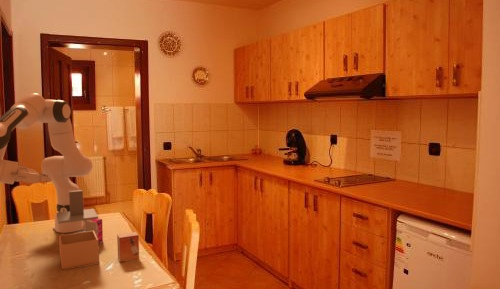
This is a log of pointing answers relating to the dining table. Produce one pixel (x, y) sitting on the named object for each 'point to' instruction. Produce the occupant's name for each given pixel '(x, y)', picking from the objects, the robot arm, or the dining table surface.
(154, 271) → the dining table surface
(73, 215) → the grey plate with knob
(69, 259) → the large tan box
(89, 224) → the supplement box
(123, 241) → the small box
